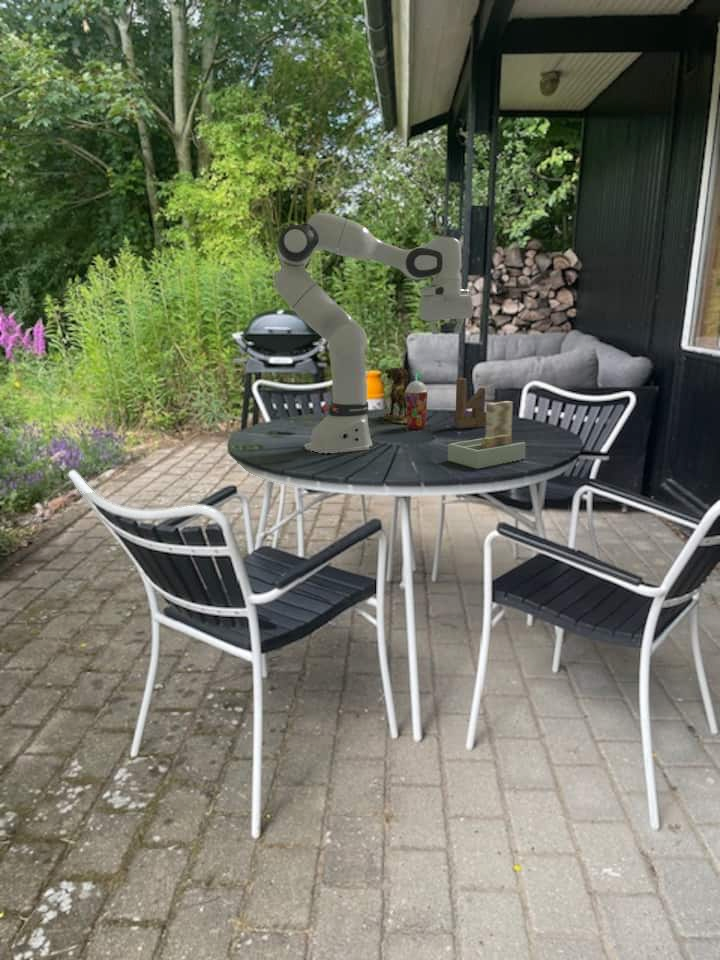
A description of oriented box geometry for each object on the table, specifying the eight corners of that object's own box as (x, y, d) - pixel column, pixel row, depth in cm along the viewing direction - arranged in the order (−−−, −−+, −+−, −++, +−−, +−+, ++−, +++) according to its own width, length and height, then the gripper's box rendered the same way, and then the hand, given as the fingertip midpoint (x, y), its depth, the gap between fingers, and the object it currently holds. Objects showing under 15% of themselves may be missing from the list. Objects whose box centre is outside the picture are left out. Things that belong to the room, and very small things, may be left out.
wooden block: (484, 427, 258) (485, 377, 253) (458, 429, 254) (459, 379, 250) (479, 425, 261) (480, 376, 256) (453, 427, 258) (454, 378, 253)
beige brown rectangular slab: (490, 448, 222) (492, 404, 219) (485, 447, 224) (486, 403, 221) (511, 444, 227) (512, 401, 223) (505, 443, 229) (506, 400, 226)
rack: (477, 468, 197) (477, 451, 195) (447, 460, 207) (448, 443, 206) (524, 459, 207) (525, 442, 206) (494, 451, 217) (495, 436, 216)
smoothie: (427, 425, 261) (428, 371, 256) (427, 430, 253) (427, 374, 248) (405, 425, 262) (405, 372, 257) (404, 429, 254) (404, 374, 249)
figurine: (407, 413, 288) (407, 364, 283) (422, 424, 264) (422, 370, 259) (376, 415, 286) (376, 365, 281) (388, 426, 262) (388, 371, 257)
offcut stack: (487, 464, 201) (488, 439, 199) (477, 462, 204) (478, 436, 202) (511, 460, 206) (512, 435, 204) (501, 457, 209) (502, 433, 207)
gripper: (464, 289, 232) (463, 332, 235) (416, 289, 221) (415, 334, 224) (477, 289, 227) (476, 332, 230) (428, 289, 216) (428, 335, 219)
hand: (446, 333), depth 227 cm, fingers open, 8 cm apart
